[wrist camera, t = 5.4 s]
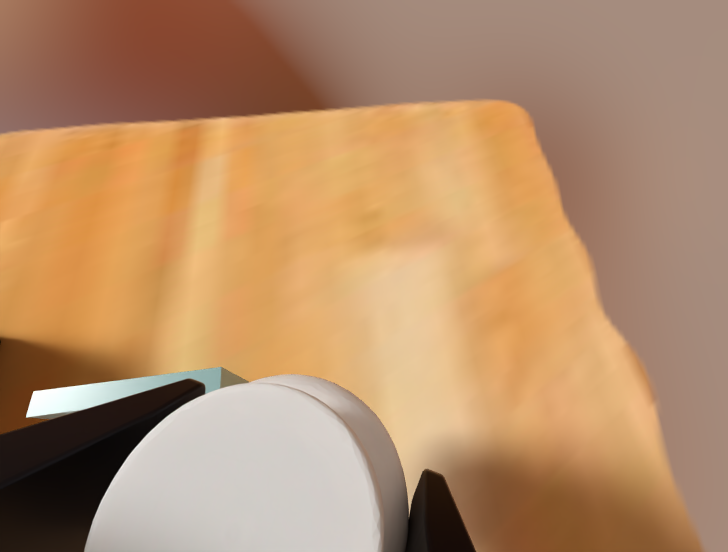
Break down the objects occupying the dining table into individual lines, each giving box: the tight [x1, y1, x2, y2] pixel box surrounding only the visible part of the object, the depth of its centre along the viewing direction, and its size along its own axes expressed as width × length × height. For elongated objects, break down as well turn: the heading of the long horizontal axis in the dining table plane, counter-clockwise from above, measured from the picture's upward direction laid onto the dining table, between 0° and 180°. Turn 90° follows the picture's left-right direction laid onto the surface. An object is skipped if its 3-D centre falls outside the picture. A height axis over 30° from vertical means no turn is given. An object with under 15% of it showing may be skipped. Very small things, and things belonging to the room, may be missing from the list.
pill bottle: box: [84, 374, 409, 552], centre depth 9 cm, size 5×5×10 cm
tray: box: [26, 367, 249, 419], centre depth 16 cm, size 13×9×4 cm
